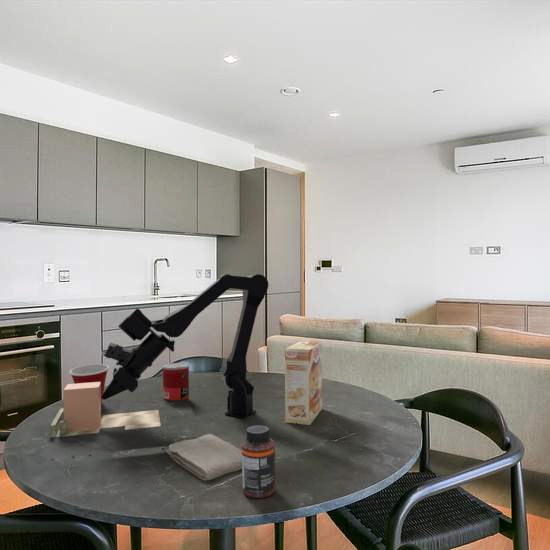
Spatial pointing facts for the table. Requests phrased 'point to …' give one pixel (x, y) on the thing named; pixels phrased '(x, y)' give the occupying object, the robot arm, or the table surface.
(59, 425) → the trap board
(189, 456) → the washcloth
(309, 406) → the coffeecake box
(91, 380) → the plastic cup
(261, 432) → the supplement bottle
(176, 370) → the canned food
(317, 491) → the table surface
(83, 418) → the block
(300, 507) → the table surface
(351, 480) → the table surface
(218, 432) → the table surface
